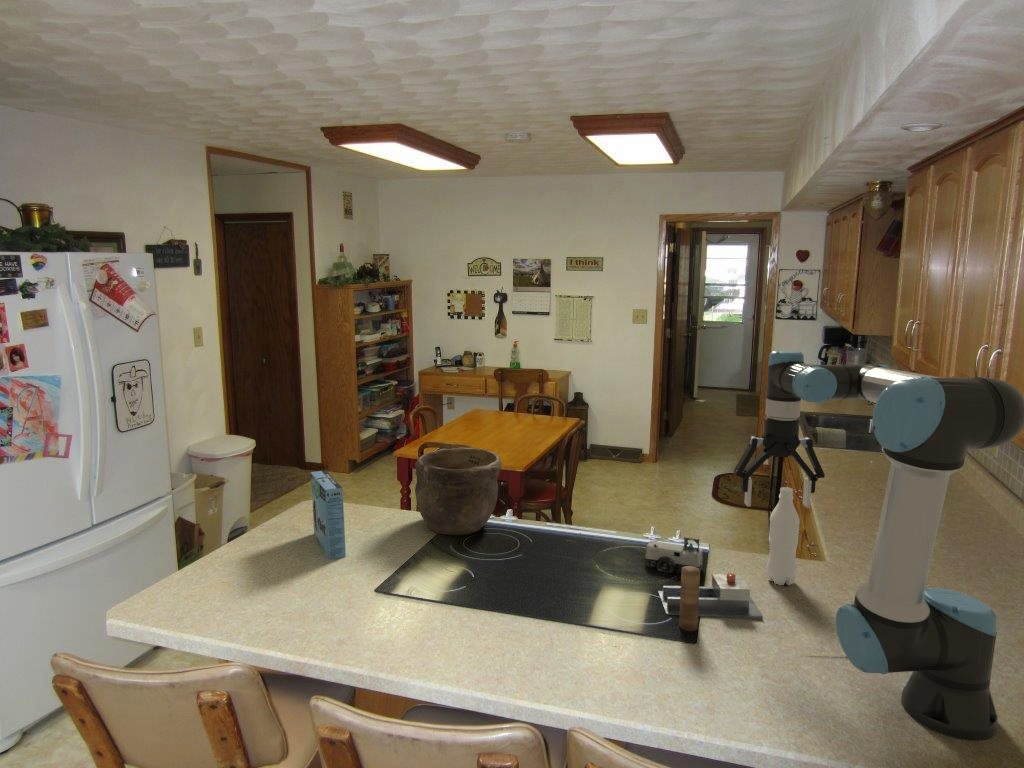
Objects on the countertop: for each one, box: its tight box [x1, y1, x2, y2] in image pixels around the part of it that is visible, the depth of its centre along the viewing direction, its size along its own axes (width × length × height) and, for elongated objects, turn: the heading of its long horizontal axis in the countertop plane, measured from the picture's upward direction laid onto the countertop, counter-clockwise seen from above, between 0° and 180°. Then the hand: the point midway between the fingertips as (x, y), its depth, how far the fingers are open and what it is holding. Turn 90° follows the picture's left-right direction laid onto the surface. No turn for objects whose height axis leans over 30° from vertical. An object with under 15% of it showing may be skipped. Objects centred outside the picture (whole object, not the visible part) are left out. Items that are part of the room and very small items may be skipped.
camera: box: [644, 536, 704, 575], centre depth 188 cm, size 15×8×10 cm, turn 64°
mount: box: [658, 585, 764, 621], centre depth 169 cm, size 12×22×4 cm, turn 88°
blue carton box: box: [310, 470, 347, 560], centre depth 195 cm, size 20×5×23 cm, turn 26°
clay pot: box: [414, 447, 502, 536], centre depth 212 cm, size 26×26×25 cm
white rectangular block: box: [711, 573, 751, 601], centre depth 168 cm, size 8×7×4 cm
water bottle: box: [766, 486, 801, 586], centre depth 181 cm, size 7×7×25 cm
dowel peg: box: [678, 566, 701, 632], centre depth 157 cm, size 4×4×14 cm
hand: (776, 505), depth 167 cm, fingers open, 13 cm apart
